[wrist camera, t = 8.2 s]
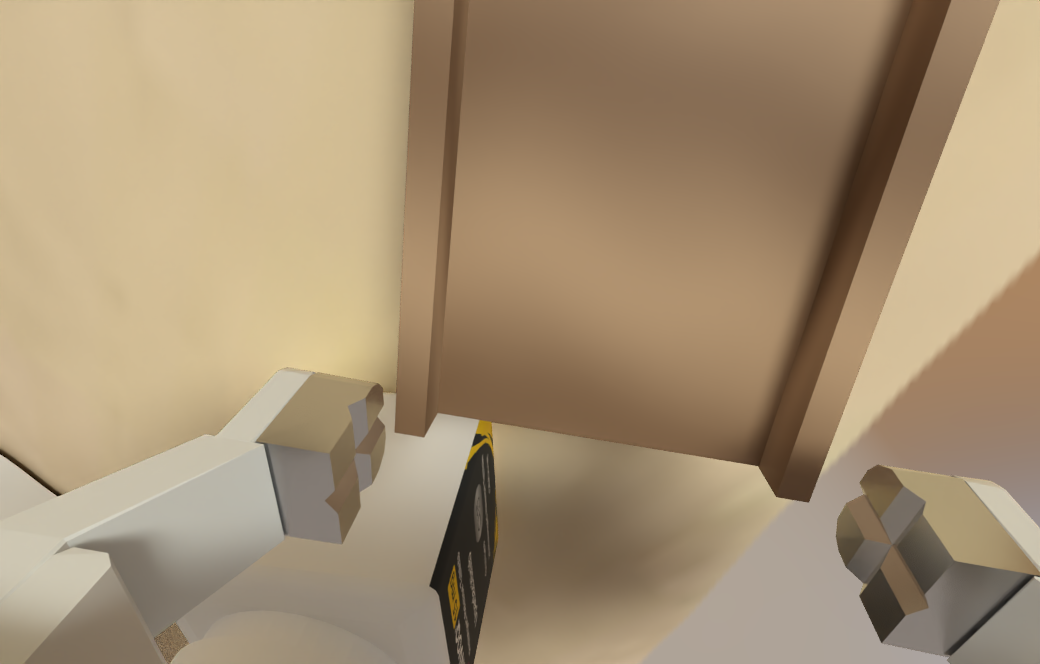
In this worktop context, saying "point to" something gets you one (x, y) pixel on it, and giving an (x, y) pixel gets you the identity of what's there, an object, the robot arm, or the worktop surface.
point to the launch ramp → (666, 213)
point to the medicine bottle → (373, 568)
